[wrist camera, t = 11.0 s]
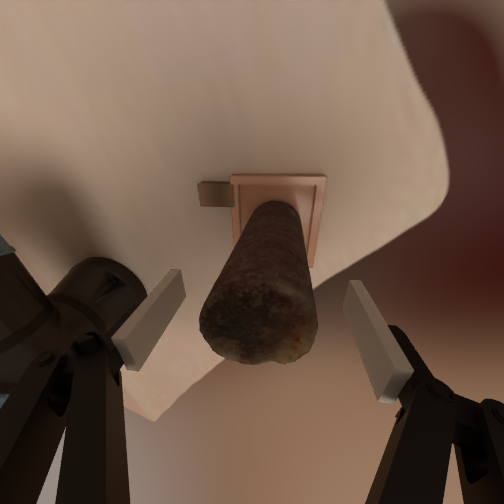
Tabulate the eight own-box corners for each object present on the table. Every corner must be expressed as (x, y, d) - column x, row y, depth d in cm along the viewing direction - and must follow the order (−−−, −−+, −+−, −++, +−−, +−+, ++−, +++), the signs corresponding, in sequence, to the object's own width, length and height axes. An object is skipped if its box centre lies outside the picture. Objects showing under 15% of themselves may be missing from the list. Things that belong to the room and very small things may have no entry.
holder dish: (237, 256, 33) (235, 262, 32) (233, 174, 27) (229, 176, 25) (311, 261, 32) (312, 268, 30) (324, 174, 26) (327, 176, 24)
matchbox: (205, 202, 30) (200, 206, 28) (202, 181, 28) (197, 183, 27) (238, 203, 29) (235, 207, 27) (237, 181, 28) (233, 184, 26)
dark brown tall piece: (251, 193, 28) (192, 278, 10) (305, 198, 27) (341, 299, 9) (249, 243, 31) (202, 367, 14) (296, 248, 30) (309, 387, 13)
